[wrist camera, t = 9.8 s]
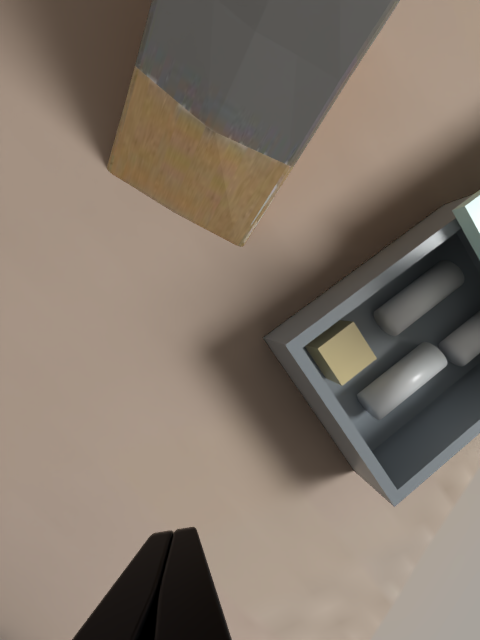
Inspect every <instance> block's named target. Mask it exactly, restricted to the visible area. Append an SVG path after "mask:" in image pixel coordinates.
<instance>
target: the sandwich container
mask: <svg viewBox="0 0 480 640" xmlns="http://www.w3.org/2000/svg"><path fill="white" fill-rule="evenodd" d="M399 1H400V0H152V3H151V7H150V10H149V14H148V18H147V22H146V26H145V29H144V33H143V37H142V41H141V45H140V49H139V52H138V56H137V60H136V64H135V67H134V71H133V75H132V78H131V82H130V86H129V90H128V93H127V97H126V101H125V104H124V108H123V111H122V115H121V119H120V122H119V126H118V129H117V133H116V136H115V140H114V144H113V147H112V151H111V154H110V158H109V162H108V165H107V169H108V171H109V172H110V173H112V174H113V175H115V176H116V177H118V178H120V179H121V180H123V181H124V182H126V183H128V184H129V185H131V186H132V187H134V188H136V189H137V190H139V191H141V192H142V193H144V194H145V195H147V196H149V197H150V198H152V199H153V200H155V201H157V202H158V203H160V204H161V205H163V206H165V207H166V208H168V209H170V210H171V211H173V212H174V213H176V214H178V215H180V216H182V217H184V218H186V219H187V220H189V221H191V222H193V223H195V224H197V225H199V226H201V227H203V228H205V229H206V230H208V231H210V232H212V233H214V234H216V235H218V236H220V237H222V238H224V239H225V240H227V241H229V242H231V243H233V244H235V245H237V246H244V244H245V243H246V241H247V240H248V238H249V236H250V235H251V233H252V232H253V230H254V228H255V227H256V225H257V224H258V222H259V221H260V219H261V217H262V216H263V214H264V213H265V211H266V209H267V208H268V206H269V205H270V203H271V202H272V200H273V198H274V197H275V195H276V194H277V192H278V190H279V189H280V187H281V186H282V184H283V183H284V181H285V179H286V178H287V176H288V175H289V173H290V171H291V170H292V168H293V167H294V165H295V164H296V162H297V160H298V159H299V157H300V156H301V154H302V152H303V151H304V149H305V148H306V146H307V144H308V143H309V141H310V140H311V138H312V137H313V135H314V133H315V132H316V130H317V129H318V127H319V125H320V124H321V122H322V121H323V119H324V117H325V116H326V114H327V113H328V111H329V110H330V108H331V106H332V105H333V103H334V102H335V100H336V98H337V97H338V95H339V94H340V92H341V90H342V89H343V87H344V86H345V84H346V83H347V81H348V79H349V78H350V76H351V75H352V73H353V72H354V70H355V69H356V67H357V66H358V64H359V63H360V61H361V60H362V58H363V57H364V55H365V53H366V52H367V50H368V49H369V47H370V46H371V44H372V43H373V41H374V40H375V38H376V37H377V35H378V34H379V32H380V30H381V29H382V27H383V26H384V24H385V23H386V21H387V20H388V18H389V17H390V15H391V14H392V12H393V10H394V9H395V7H396V6H397V4H398V3H399Z"/></svg>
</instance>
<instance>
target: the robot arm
mask: <svg viewBox="0 0 480 640" xmlns="http://www.w3.org/2000/svg"><path fill="white" fill-rule="evenodd" d="M72 640H232V639H231V636H230V633H229V629H228V626H227V623H226V620H225V617H224V614H223V611H222V607H221V604H220V601H219V598H218V595H217V592H216V589H215V586H214V582H213V579H212V576H211V573H210V570H209V567H208V564H207V561H206V557H205V554H204V551H203V548H202V545H201V542H200V539H199V535H198V532H197V530H196V528H195V527H189V528H182V529H177V530H176V531H175V532H173V531H164V532H158V533H154V534H152V535H151V536H150V537H149V538H148V540H147V541H146V542H145V544H144V545H143V546H142V548H141V549H140V550H139V552H138V553H137V554H136V556H135V557H134V558H133V560H132V561H131V562H130V564H129V565H128V566H127V568H126V569H125V570H124V572H123V573H122V574H121V575H120V577H119V578H118V579H117V581H116V582H115V583H114V585H113V586H112V587H111V589H110V590H109V591H108V593H107V594H106V595H105V597H104V598H103V599H102V601H101V602H100V603H99V605H98V606H97V607H96V609H95V610H94V611H93V613H92V614H91V615H90V617H89V618H88V619H87V621H86V622H85V623H84V625H83V626H82V627H81V629H80V630H79V631H78V633H77V634H76V635H75V637H74V638H73V639H72Z"/></svg>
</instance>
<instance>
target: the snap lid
mask: <svg viewBox="0 0 480 640" xmlns="http://www.w3.org/2000/svg"><path fill="white" fill-rule="evenodd" d="M452 212H453V214H454V215H455V217H456V219H457V221H458V223H459V224H460V226H461V228H462V230H463V232H464V233H465V235H466V237H467V239H468V240H469V242H470V244H471V246H472V248H473V249H474V251H475V253H476V255H477V257H478V258H479V260H480V190H479V191H478V192H476V193H475V194H473V195H472V196H471V197H469V198H468V199H467V200H465V201H464V202H463V203H461V204H460V205H459V206H457V207H456V208H455V209H453V210H452Z"/></svg>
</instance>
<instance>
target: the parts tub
mask: <svg viewBox="0 0 480 640" xmlns="http://www.w3.org/2000/svg"><path fill="white" fill-rule="evenodd" d="M472 195H473V194H472ZM472 195H469V196H467V197H464V198H461V199H458V200H456V201H453V202H450V203H447V204H445V205H443V206H441V207H440V208H439V209H437V210H436V211H435V212H433V213H432V214H431V215H429V216H428V217H426V218H425V219H424V220H422V221H421V222H420V223H418V224H417V225H416V226H414V227H413V228H411V229H410V230H409V231H407V232H406V233H405V234H403V235H402V236H401V237H399V238H398V239H396V240H395V241H394V242H392V243H391V244H390V245H388V246H387V247H386V248H384V249H383V250H381V251H380V252H379V253H377V254H376V255H375V256H373V257H372V258H371V259H369V260H368V261H367V262H365V263H364V264H362V265H361V266H360V267H358V268H357V269H356V270H354V271H353V272H352V273H350V274H349V275H347V276H346V277H345V278H343V279H342V280H341V281H339V282H338V283H337V284H335V285H334V286H332V287H331V288H330V289H328V290H327V291H326V292H324V293H323V294H322V295H320V296H319V297H317V298H316V299H315V300H313V301H312V302H311V303H309V304H308V305H307V306H305V307H304V308H303V309H301V310H300V311H298V312H297V313H296V314H294V315H293V316H292V317H290V318H289V319H288V320H286V321H285V322H283V323H282V324H281V325H279V326H278V327H277V328H275V329H274V330H273V331H271V332H270V333H268V334H267V335H266V336H264V337H263V338H264V340H265V341H266V343H267V344H268V346H269V347H270V349H271V350H272V351H273V353H274V354H275V356H276V357H277V359H278V360H279V362H280V363H281V365H282V366H283V368H284V369H285V370H286V372H287V373H288V375H289V376H290V378H291V379H292V381H293V382H294V384H295V385H296V387H297V388H298V389H299V391H300V392H301V394H302V395H303V397H304V398H305V400H306V401H307V403H308V404H309V406H310V407H311V408H312V410H313V411H314V413H315V414H316V416H317V417H318V419H319V420H320V422H321V423H322V425H323V426H324V428H325V429H326V430H327V432H328V433H329V435H330V436H331V438H332V439H333V441H334V442H335V444H336V445H337V447H338V448H339V449H340V451H341V452H342V454H343V455H344V457H345V458H346V460H347V461H348V463H349V464H350V466H351V467H352V468H353V470H354V471H355V472H356V473H357V474H358V475H359V476H360V477H361V478H363V479H364V480H365V481H366V482H367V483H368V484H369V485H370V486H372V487H373V488H374V489H375V490H376V491H377V492H378V493H379V494H381V495H382V496H383V497H384V498H385V499H386V500H387V501H388V502H390V503H391V504H392V505H393V506H394V507H395V506H396V505H397V504H398V503H400V502H401V501H402V500H403V499H404V498H405V497H406V496H408V495H409V494H410V493H411V492H412V491H413V490H415V489H416V488H417V487H418V486H419V485H420V484H421V483H423V482H424V481H425V480H426V479H427V478H428V477H430V476H431V475H432V474H433V473H434V472H435V471H436V470H438V469H439V468H440V467H441V466H442V465H443V464H445V463H446V462H447V461H448V460H449V459H450V458H451V457H453V456H454V455H455V454H456V453H457V452H458V451H460V450H461V449H462V448H463V447H464V446H465V445H466V444H468V443H469V442H470V441H471V440H472V439H473V438H475V437H476V436H477V435H478V434H479V433H480V260H479V258H478V257H477V255H476V253H475V251H474V249H473V248H472V246H471V244H470V242H469V240H468V239H467V237H466V235H465V233H464V232H463V230H462V228H461V226H460V224H459V223H458V221H457V219H456V217H455V215H454V214H453V212H452V210H453V209H455V208H456V207H457V206H459V205H460V204H461V203H463V202H464V201H465V200H467V199H468V198H469V197H471V196H472Z"/></svg>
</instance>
